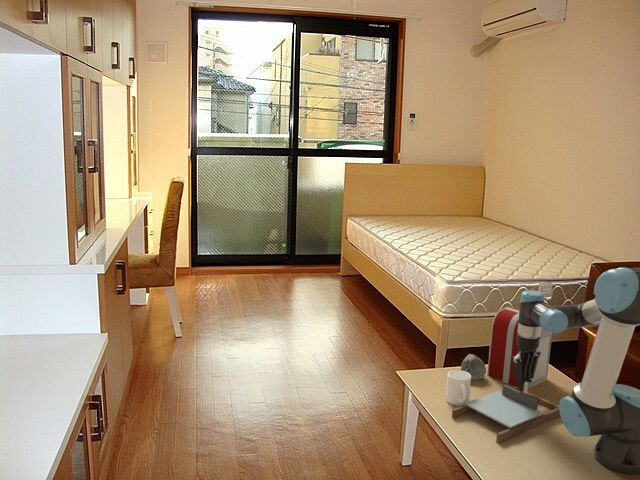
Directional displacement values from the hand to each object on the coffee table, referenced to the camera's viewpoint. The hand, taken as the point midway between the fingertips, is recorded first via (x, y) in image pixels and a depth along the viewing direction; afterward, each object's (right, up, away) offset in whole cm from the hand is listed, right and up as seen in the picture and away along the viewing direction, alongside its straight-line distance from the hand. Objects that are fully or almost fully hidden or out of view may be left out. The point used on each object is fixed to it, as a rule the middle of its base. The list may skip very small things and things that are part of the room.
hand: (522, 398), depth 221 cm
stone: (-11, +1, +29) cm, 30 cm away
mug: (-21, -3, +6) cm, 22 cm away
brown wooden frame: (-6, -5, -3) cm, 9 cm away
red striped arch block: (+7, +1, +29) cm, 30 cm away
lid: (-8, -2, -5) cm, 10 cm away
